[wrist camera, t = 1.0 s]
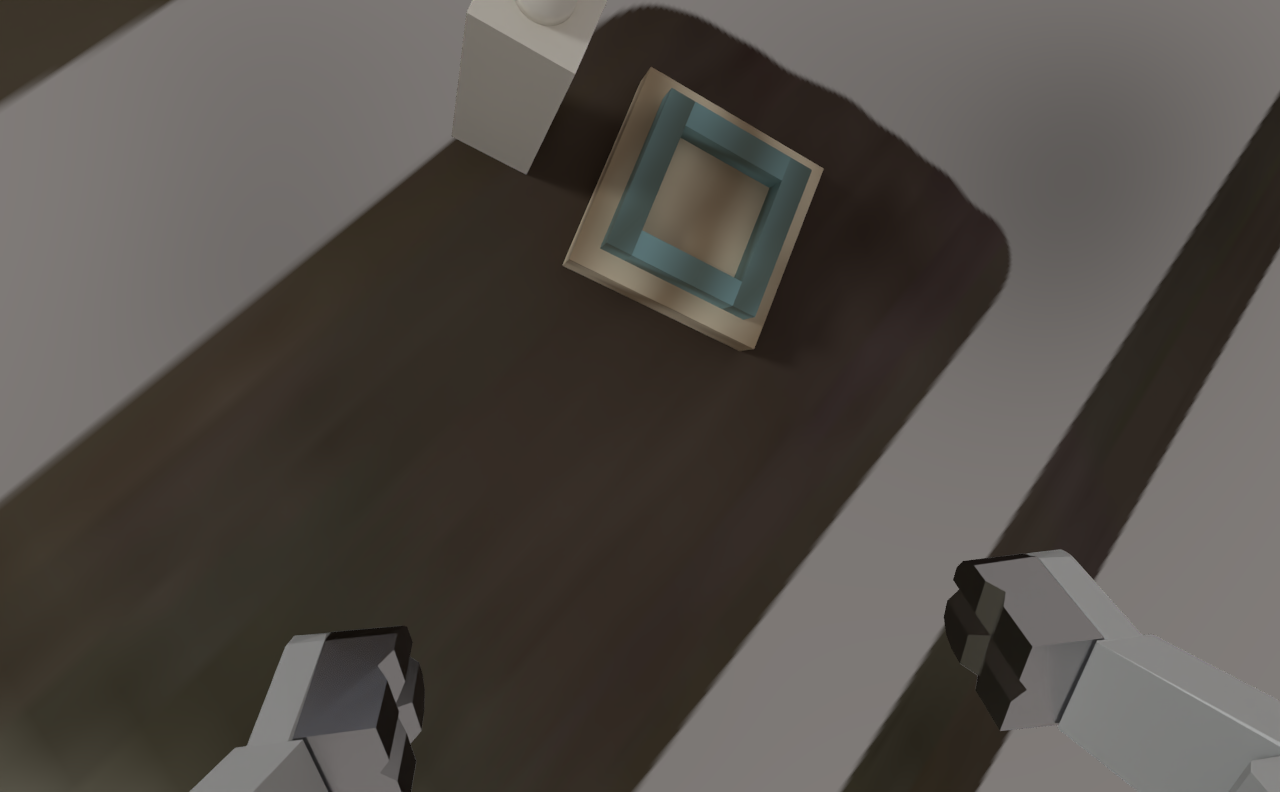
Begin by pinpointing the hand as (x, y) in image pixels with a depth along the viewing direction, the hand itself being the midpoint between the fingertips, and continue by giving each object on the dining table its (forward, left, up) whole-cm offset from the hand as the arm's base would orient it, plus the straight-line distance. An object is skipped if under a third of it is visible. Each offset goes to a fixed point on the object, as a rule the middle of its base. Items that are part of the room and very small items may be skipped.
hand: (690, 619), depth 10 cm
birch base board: (+5, +17, -30) cm, 35 cm away
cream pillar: (-7, +17, -30) cm, 35 cm away
